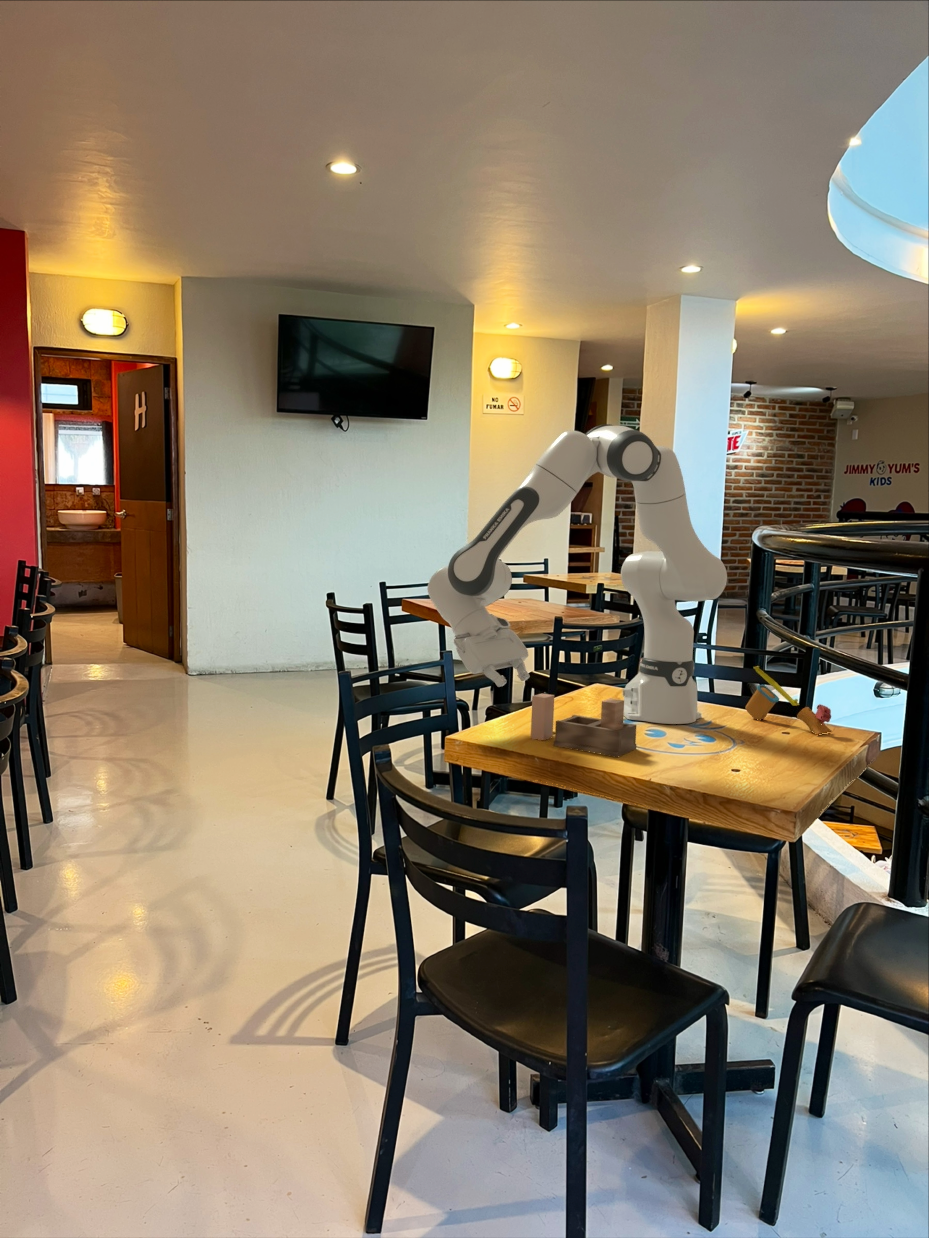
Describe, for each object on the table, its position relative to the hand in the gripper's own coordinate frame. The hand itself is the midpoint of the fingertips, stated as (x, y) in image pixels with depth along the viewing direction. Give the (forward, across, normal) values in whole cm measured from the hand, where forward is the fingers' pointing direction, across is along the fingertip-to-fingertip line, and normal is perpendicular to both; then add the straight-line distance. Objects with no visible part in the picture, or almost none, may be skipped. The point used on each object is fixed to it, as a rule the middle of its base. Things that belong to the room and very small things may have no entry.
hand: (514, 681), depth 193 cm
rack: (+21, 0, -6) cm, 22 cm away
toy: (+39, +48, -23) cm, 66 cm away
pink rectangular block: (+13, 0, +3) cm, 13 cm away
